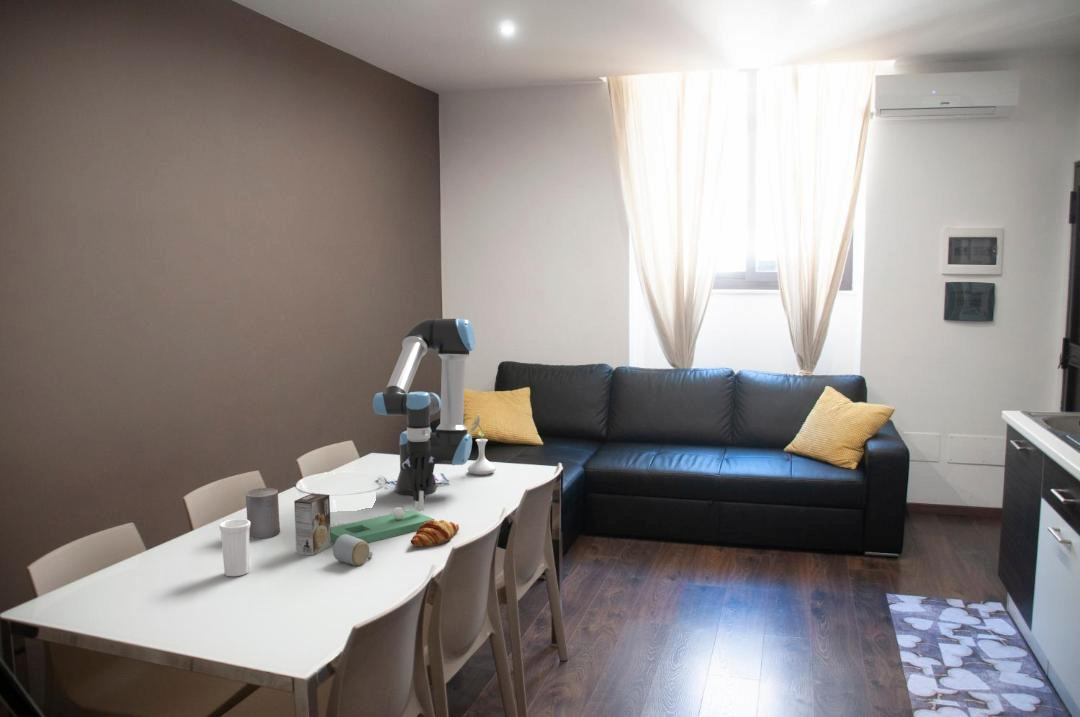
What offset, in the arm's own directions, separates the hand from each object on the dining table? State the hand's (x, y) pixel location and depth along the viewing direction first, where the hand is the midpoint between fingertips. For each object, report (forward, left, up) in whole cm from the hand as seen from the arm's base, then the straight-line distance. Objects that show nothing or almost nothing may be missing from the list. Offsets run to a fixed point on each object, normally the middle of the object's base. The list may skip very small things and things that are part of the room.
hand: (419, 509), depth 281 cm
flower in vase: (-55, -38, -4) cm, 67 cm away
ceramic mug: (+34, +19, -5) cm, 39 cm away
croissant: (+6, +19, -5) cm, 20 cm away
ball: (+8, 0, 0) cm, 8 cm away
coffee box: (+39, +2, -4) cm, 39 cm away
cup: (+64, +6, -4) cm, 64 cm away
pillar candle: (+44, -22, -4) cm, 49 cm away
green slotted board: (+15, 0, -4) cm, 16 cm away
